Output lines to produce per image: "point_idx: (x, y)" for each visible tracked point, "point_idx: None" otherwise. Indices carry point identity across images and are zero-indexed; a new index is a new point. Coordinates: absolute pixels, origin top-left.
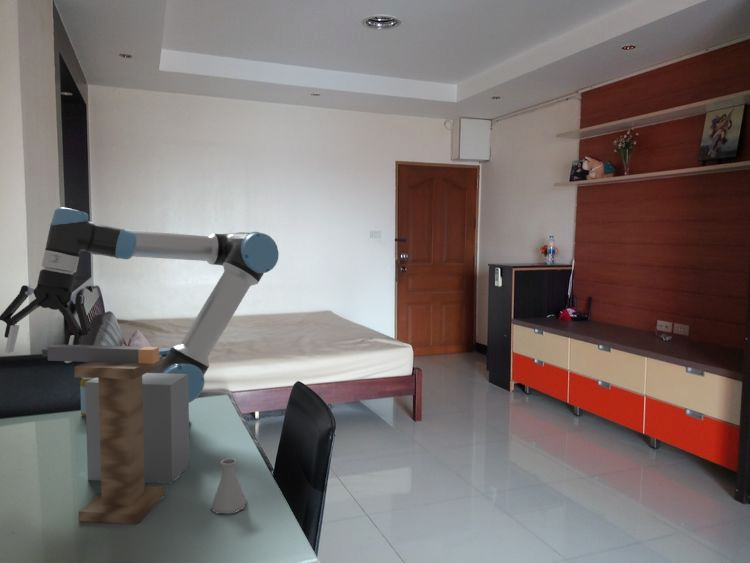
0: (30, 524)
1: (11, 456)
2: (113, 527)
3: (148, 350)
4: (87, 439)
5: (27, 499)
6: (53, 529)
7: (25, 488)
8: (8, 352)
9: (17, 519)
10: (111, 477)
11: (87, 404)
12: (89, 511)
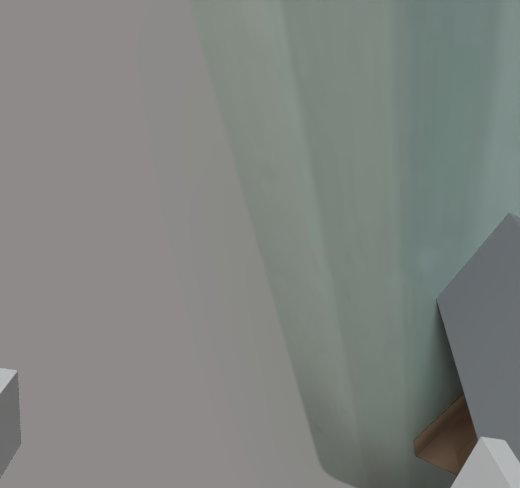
0: (339, 419)
1: (216, 52)
2: None
3: None
4: (461, 375)
5: (318, 338)
6: (375, 444)
7: (304, 289)
8: (19, 437)
9: (316, 397)
10: None
11: None
12: (433, 463)
